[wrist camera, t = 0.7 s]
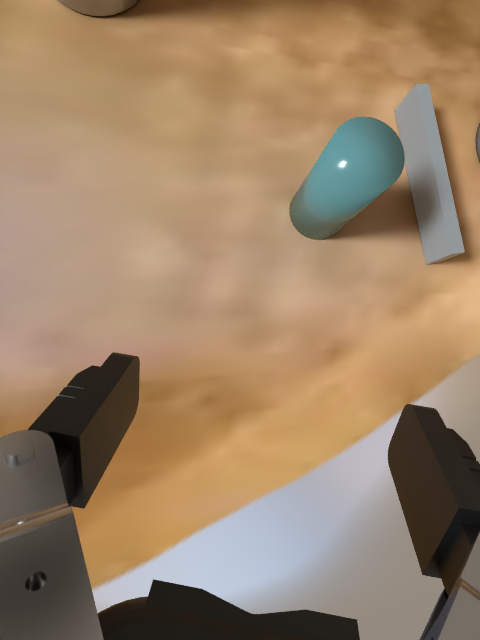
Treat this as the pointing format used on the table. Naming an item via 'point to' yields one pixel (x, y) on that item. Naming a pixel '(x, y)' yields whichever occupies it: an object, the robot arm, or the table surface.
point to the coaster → (478, 142)
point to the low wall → (428, 176)
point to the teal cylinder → (347, 177)
